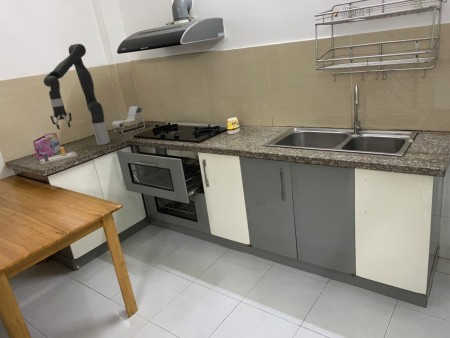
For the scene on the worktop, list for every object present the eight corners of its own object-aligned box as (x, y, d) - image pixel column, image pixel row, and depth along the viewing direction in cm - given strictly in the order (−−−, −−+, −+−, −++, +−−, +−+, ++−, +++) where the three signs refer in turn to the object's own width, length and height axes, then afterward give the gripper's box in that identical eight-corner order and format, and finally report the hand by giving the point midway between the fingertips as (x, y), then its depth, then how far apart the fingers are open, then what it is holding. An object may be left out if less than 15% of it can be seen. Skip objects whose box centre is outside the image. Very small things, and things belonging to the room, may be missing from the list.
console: (74, 152, 263) (74, 150, 262) (77, 155, 253) (77, 153, 252) (39, 160, 252) (39, 158, 251) (41, 164, 242) (40, 162, 241)
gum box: (46, 158, 255) (41, 140, 251) (36, 160, 255) (30, 142, 251) (61, 149, 278) (56, 132, 273) (51, 150, 278) (46, 133, 273)
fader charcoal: (48, 159, 247) (46, 152, 246) (48, 160, 244) (46, 153, 243) (44, 160, 246) (42, 153, 244) (45, 161, 243) (42, 154, 241)
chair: (145, 127, 320) (141, 106, 313) (121, 134, 304) (116, 112, 297) (138, 126, 329) (134, 105, 322) (113, 133, 313) (108, 111, 307)
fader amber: (65, 153, 258) (63, 146, 256) (65, 154, 255) (63, 147, 253) (61, 154, 257) (59, 147, 255) (62, 155, 254) (60, 148, 252)
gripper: (67, 103, 253) (73, 125, 259) (46, 106, 246) (52, 129, 252) (69, 103, 247) (75, 127, 252) (47, 107, 240) (54, 131, 246)
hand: (64, 128), depth 252 cm, fingers open, 6 cm apart
